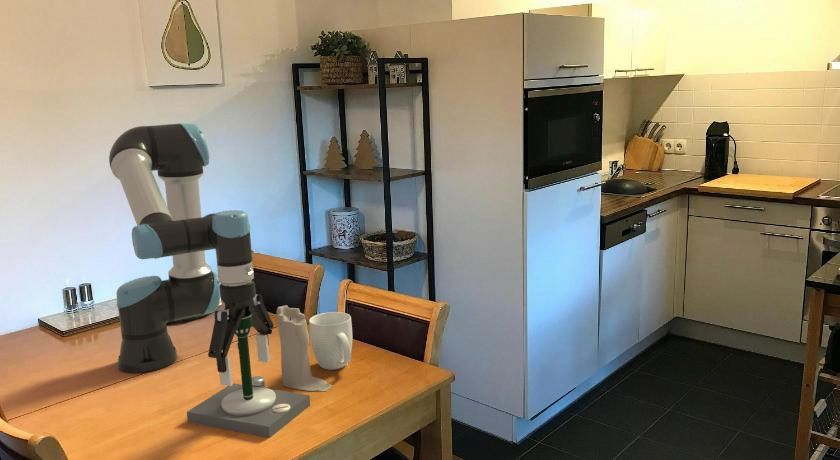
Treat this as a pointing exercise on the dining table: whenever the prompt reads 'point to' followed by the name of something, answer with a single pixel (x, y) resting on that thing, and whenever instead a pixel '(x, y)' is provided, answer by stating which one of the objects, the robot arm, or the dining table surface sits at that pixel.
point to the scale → (249, 410)
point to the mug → (331, 339)
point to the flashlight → (245, 355)
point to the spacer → (258, 381)
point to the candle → (296, 351)
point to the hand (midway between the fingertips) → (246, 372)
